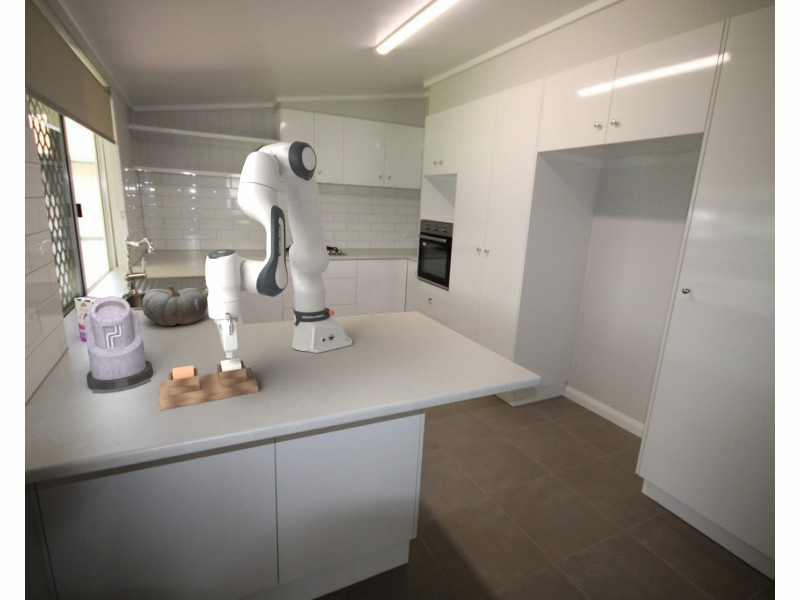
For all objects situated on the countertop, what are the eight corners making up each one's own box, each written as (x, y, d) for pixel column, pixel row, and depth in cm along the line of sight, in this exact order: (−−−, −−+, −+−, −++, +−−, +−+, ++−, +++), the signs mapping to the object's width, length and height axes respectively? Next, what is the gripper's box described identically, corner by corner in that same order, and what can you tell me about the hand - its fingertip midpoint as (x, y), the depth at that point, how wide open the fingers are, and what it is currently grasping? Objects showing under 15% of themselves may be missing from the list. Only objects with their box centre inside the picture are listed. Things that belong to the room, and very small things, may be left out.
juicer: (155, 384, 116) (145, 302, 110) (86, 398, 107) (70, 310, 101) (147, 352, 140) (138, 284, 134) (90, 362, 131) (77, 289, 125)
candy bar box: (113, 340, 151) (107, 298, 147) (99, 344, 146) (92, 301, 142) (94, 336, 155) (87, 295, 151) (80, 340, 150) (72, 298, 147)
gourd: (130, 316, 173) (134, 277, 170) (189, 314, 193) (193, 279, 190) (155, 334, 158) (160, 292, 155) (216, 330, 178) (221, 292, 176)
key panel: (250, 373, 124) (249, 355, 123) (258, 391, 112) (257, 371, 111) (161, 388, 113) (159, 368, 112) (159, 410, 101) (156, 388, 100)
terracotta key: (194, 375, 112) (193, 365, 112) (194, 382, 108) (193, 371, 107) (174, 378, 110) (172, 368, 109) (173, 385, 106) (172, 375, 105)
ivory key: (239, 367, 118) (239, 358, 117) (242, 374, 114) (241, 364, 113) (221, 370, 116) (220, 361, 115) (222, 377, 111) (222, 367, 111)
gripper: (242, 317, 103) (245, 367, 106) (234, 300, 120) (236, 343, 123) (216, 320, 100) (220, 371, 103) (210, 302, 117) (214, 346, 121)
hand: (229, 356), depth 113 cm, fingers closed
